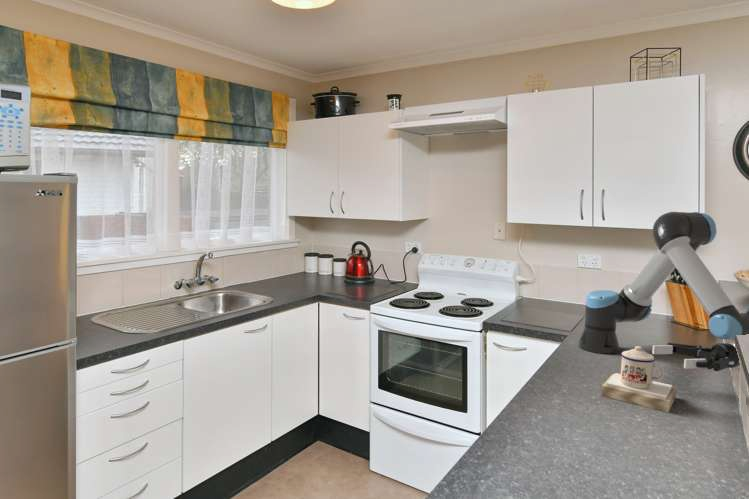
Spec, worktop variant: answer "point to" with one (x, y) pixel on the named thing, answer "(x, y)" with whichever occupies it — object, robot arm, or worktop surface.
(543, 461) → the worktop surface
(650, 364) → the teacup with lid
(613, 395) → the oak tea stand
